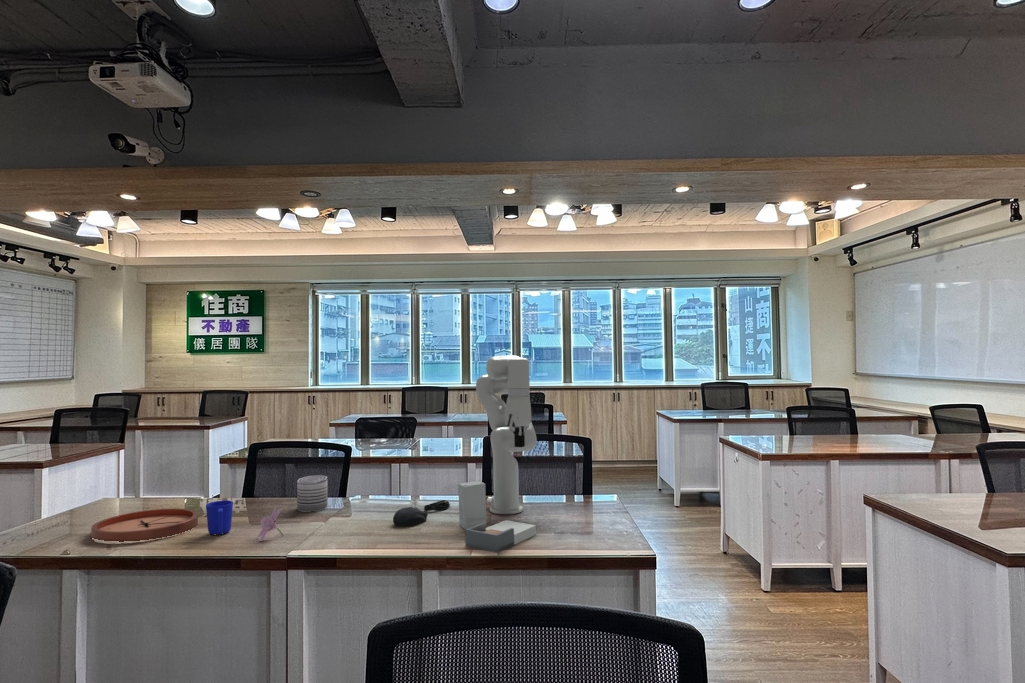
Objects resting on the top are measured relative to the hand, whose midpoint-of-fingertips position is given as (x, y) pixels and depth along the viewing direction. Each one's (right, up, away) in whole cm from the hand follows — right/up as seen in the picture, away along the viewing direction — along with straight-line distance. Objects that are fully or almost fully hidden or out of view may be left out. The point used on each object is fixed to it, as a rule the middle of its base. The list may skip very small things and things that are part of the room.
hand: (519, 446), depth 205 cm
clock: (-129, -30, 0) cm, 132 cm away
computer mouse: (-35, -29, +14) cm, 48 cm away
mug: (-101, -29, -6) cm, 105 cm away
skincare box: (-16, -28, 0) cm, 32 cm away
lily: (-82, -28, -11) cm, 87 cm away
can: (-81, -29, +28) cm, 90 cm away
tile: (-9, -26, -21) cm, 34 cm away
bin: (-9, -27, -22) cm, 36 cm away
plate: (-3, -27, -13) cm, 30 cm away
